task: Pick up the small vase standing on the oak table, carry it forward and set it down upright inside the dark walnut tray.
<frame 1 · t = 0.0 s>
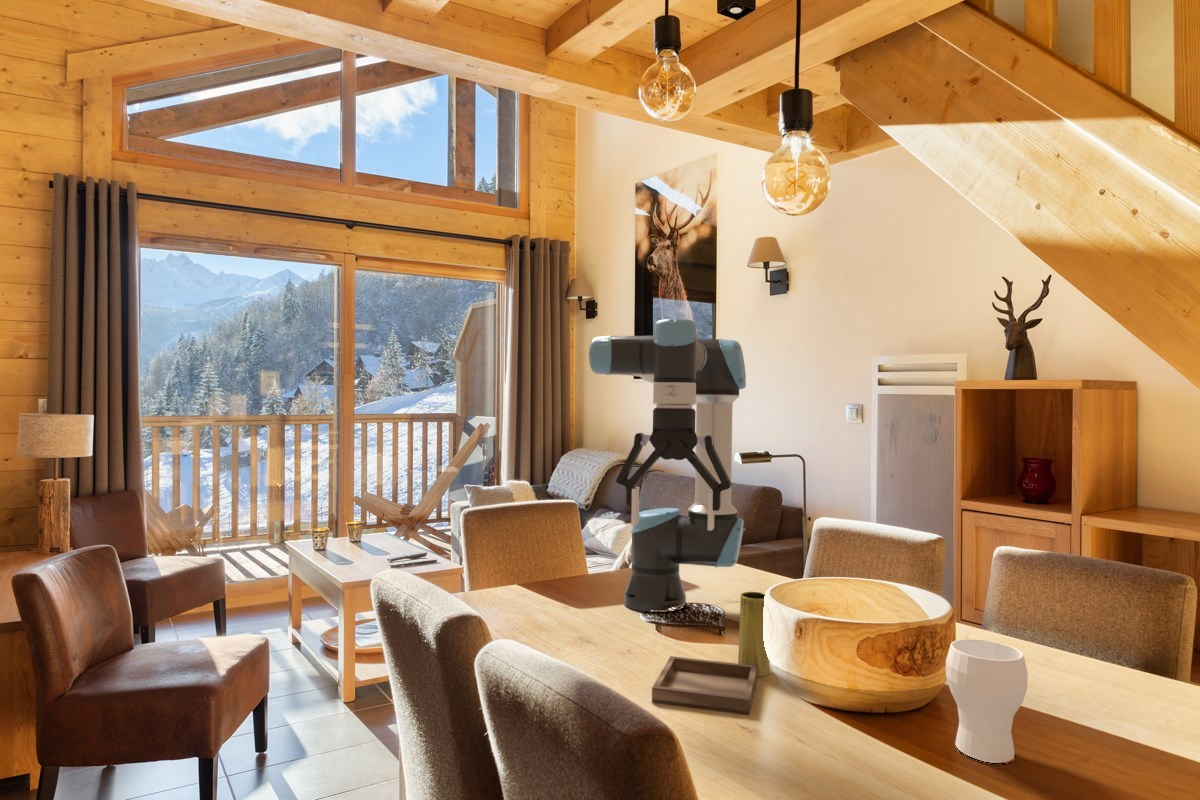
hand: (672, 526, 134), 28 cm above the table, fingers open, 13 cm apart
vase: (753, 672, 142), on the table
cup: (984, 753, 111), on the table
walnut tray: (706, 690, 132), on the table
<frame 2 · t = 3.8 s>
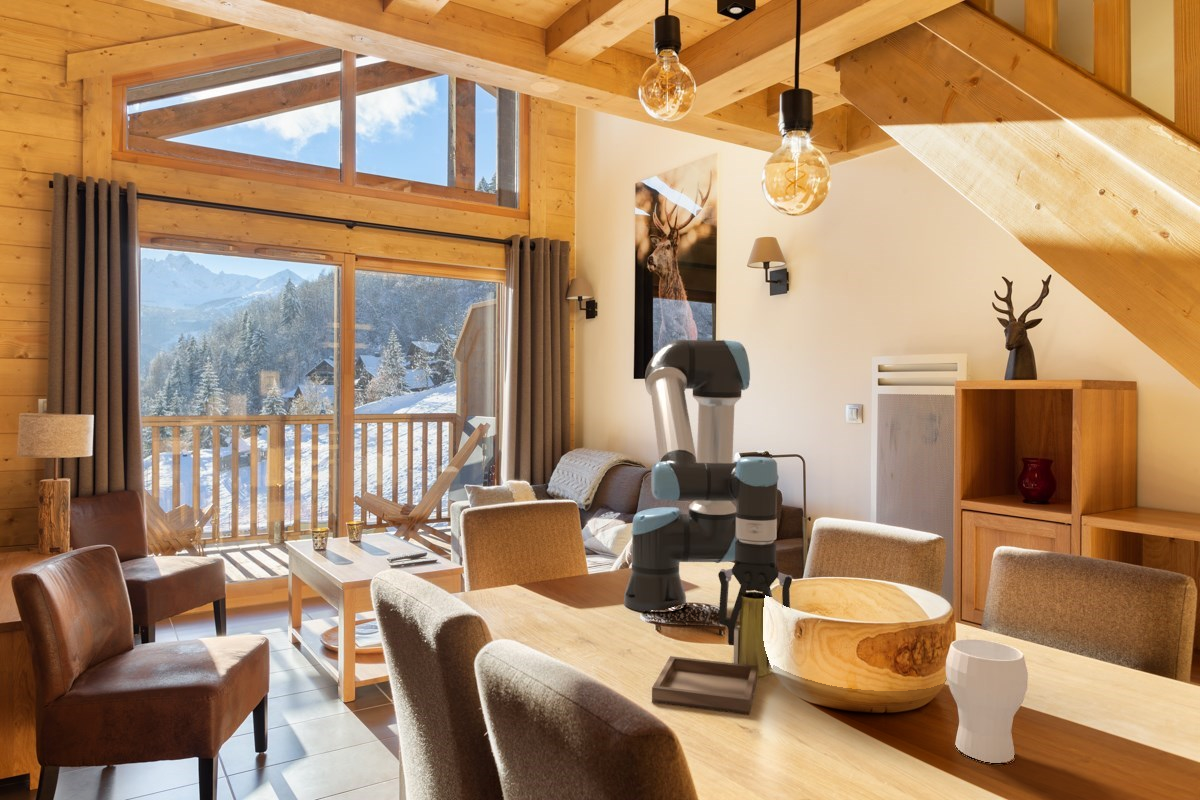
hand: (753, 664, 142), 1 cm above the table, fingers closed on vase, 6 cm apart
vase: (753, 672, 142), on the table, touching gripper
everything else where it was.
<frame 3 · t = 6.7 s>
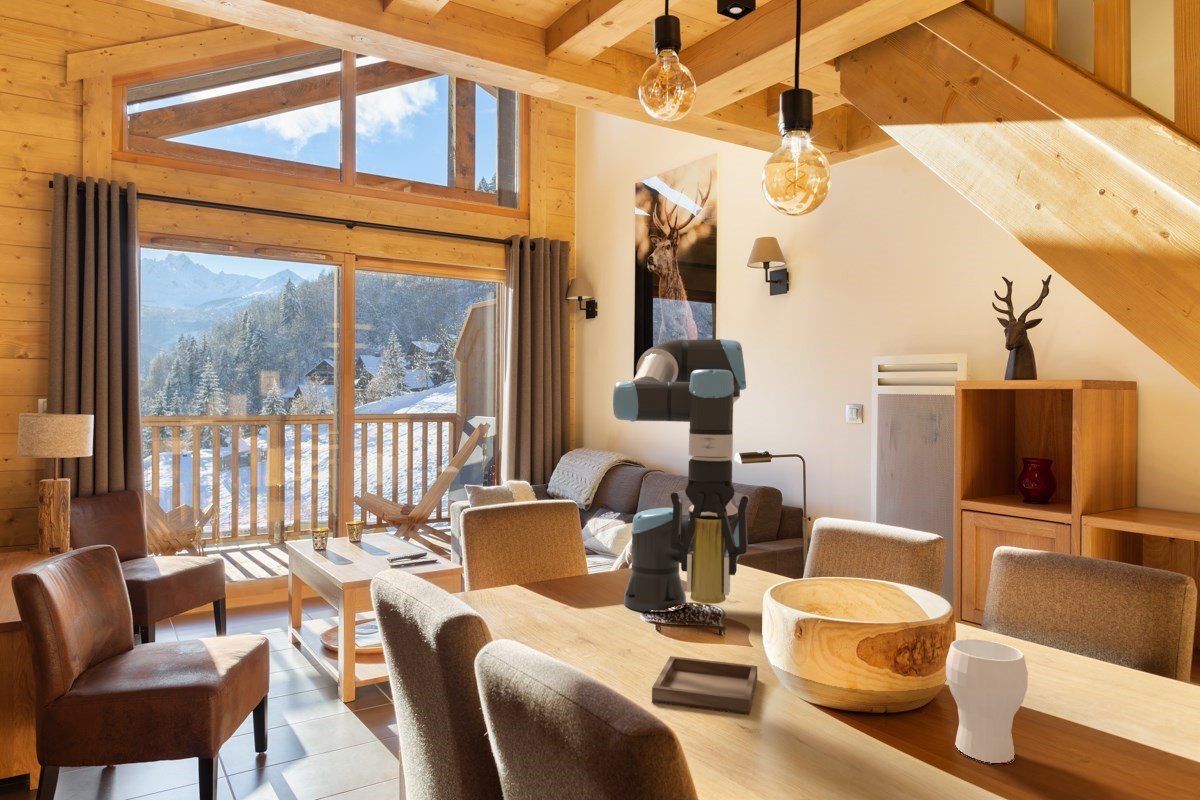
hand: (708, 591, 132), 17 cm above the table, fingers closed on vase, 6 cm apart
vase: (707, 600, 132), point 16 cm above the table, touching gripper
everything else where it was.
when the fingers open (3 cm above the table, at t = 9.4 s): vase drops 1 cm, resting on walnut tray.
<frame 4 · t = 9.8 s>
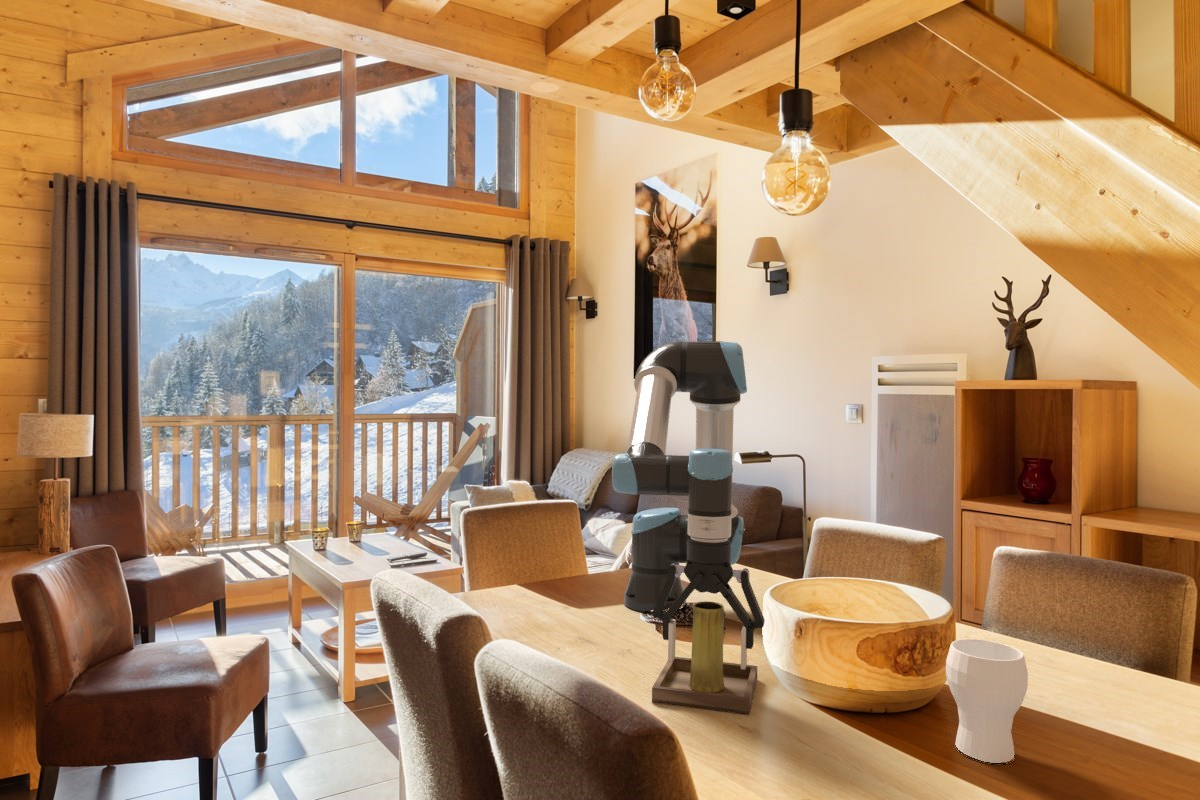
hand: (707, 662, 132), 5 cm above the table, fingers open, 12 cm apart
vase: (706, 688, 132), resting on walnut tray
everything else where it was.
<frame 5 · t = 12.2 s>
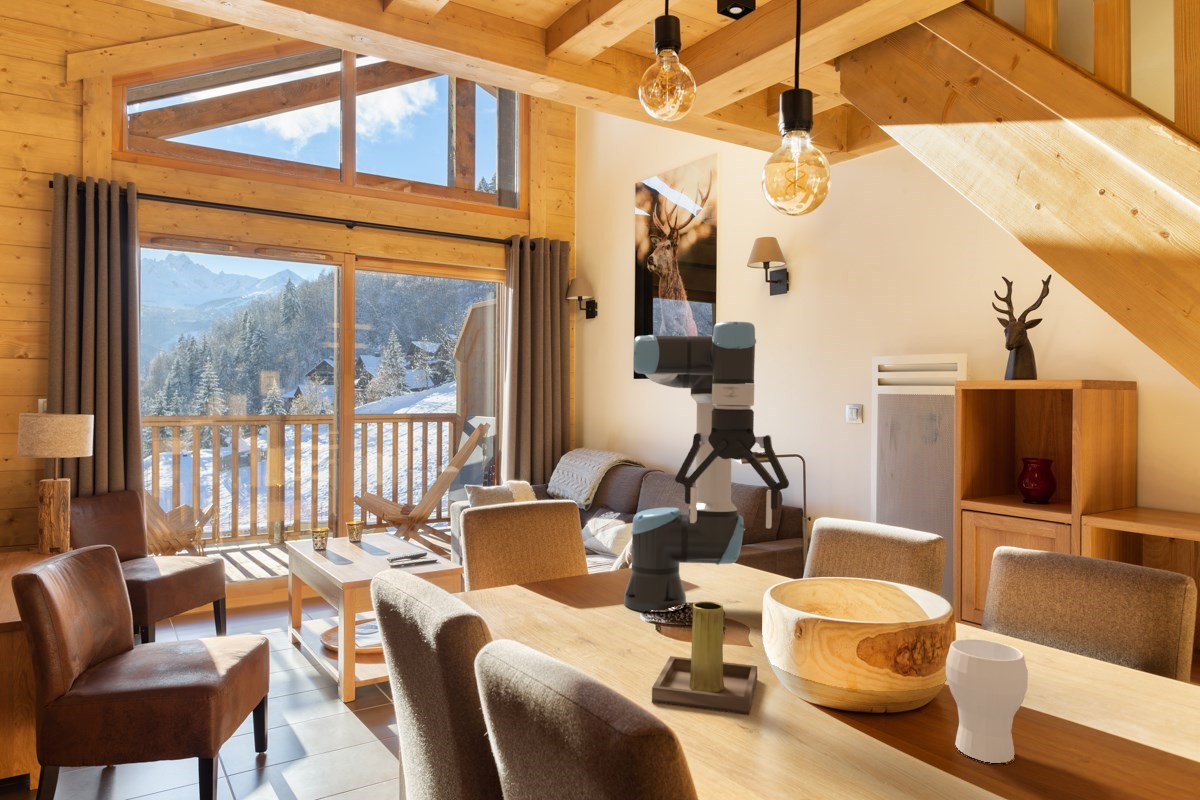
hand: (730, 524, 138), 28 cm above the table, fingers open, 13 cm apart
nothing on the table moved.
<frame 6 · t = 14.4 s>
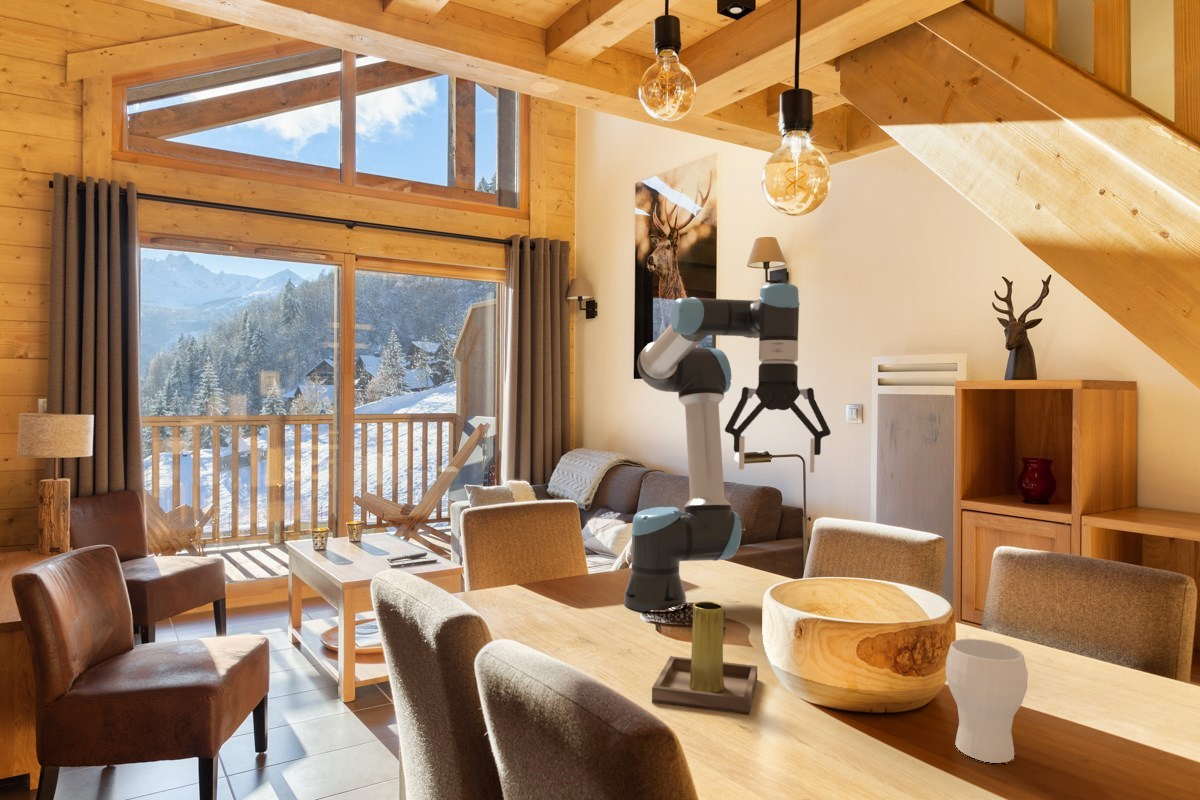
hand: (776, 470, 150), 37 cm above the table, fingers open, 13 cm apart
nothing on the table moved.
at the end: vase inside the target area on the walnut tray (0.0 cm from its centre), point 0.4 cm above the walnut tray's base; vase tilted 0°; the gripper is holding nothing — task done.
